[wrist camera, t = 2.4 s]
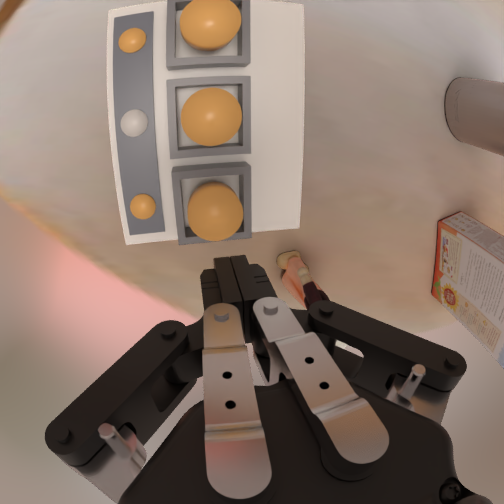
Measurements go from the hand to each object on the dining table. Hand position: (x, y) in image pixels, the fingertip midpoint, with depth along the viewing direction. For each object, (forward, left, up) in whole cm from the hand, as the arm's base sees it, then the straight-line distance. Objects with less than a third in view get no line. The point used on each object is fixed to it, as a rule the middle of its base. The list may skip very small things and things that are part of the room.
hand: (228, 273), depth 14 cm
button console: (0, -7, -15) cm, 17 cm away
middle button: (0, -7, -10) cm, 12 cm away
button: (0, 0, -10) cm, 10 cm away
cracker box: (-35, +11, -15) cm, 40 cm away
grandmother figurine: (-9, +10, -15) cm, 20 cm away
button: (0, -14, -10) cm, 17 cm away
